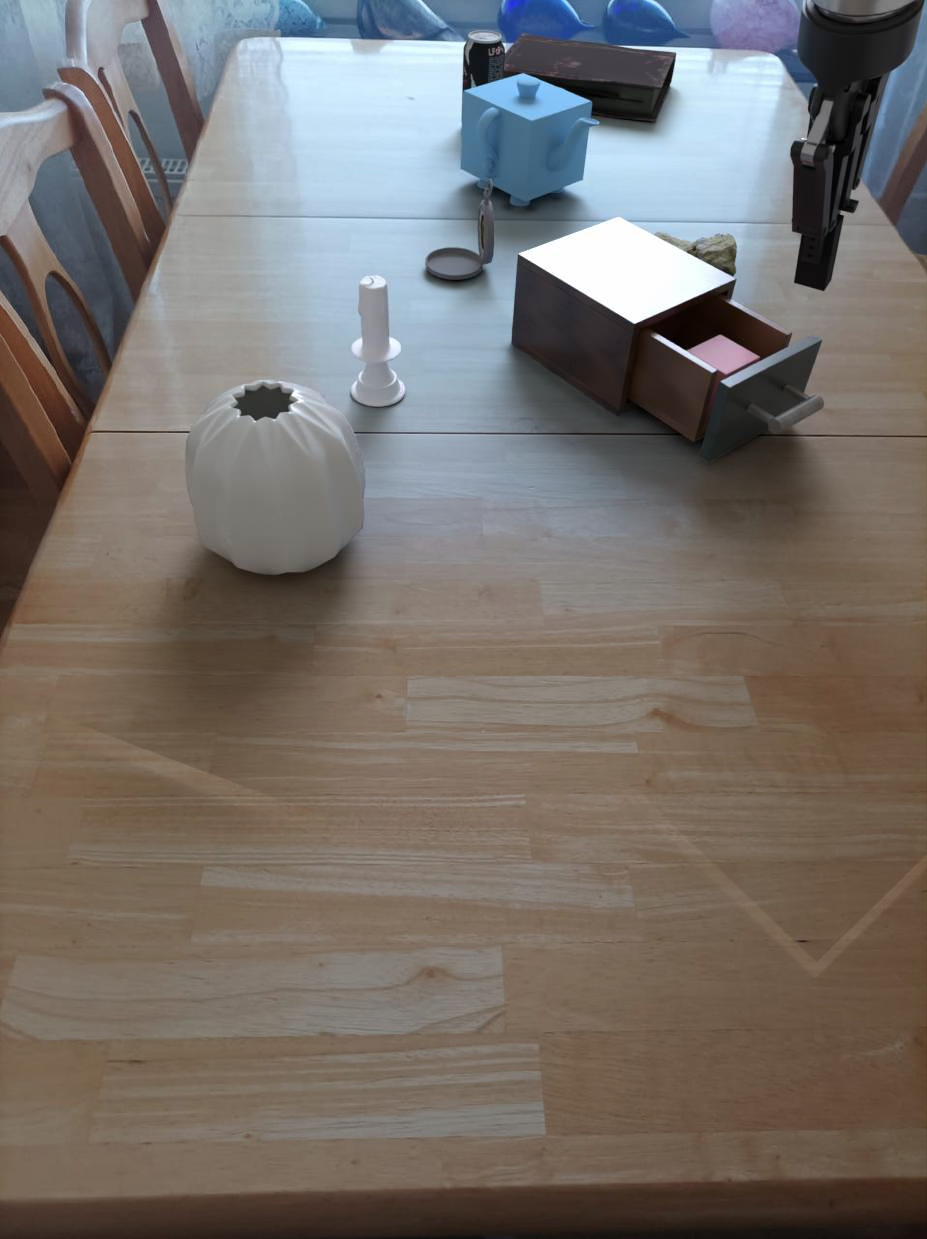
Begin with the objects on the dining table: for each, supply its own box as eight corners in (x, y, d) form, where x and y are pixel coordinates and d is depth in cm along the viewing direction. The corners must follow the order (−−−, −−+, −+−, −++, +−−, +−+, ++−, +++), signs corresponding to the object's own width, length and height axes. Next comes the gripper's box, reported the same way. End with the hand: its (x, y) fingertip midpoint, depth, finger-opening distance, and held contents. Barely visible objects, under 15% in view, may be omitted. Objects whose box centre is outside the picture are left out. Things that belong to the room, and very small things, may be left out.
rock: (646, 260, 113) (631, 285, 106) (658, 204, 109) (644, 227, 102) (734, 278, 111) (726, 306, 104) (750, 223, 107) (743, 247, 100)
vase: (252, 467, 83) (229, 332, 73) (396, 509, 80) (391, 373, 70) (164, 568, 74) (124, 430, 64) (321, 619, 71) (304, 482, 61)
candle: (368, 413, 89) (361, 296, 80) (341, 386, 92) (331, 270, 83) (416, 396, 91) (414, 281, 82) (388, 370, 94) (384, 255, 85)
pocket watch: (413, 266, 108) (412, 177, 101) (469, 245, 112) (472, 158, 104) (459, 295, 104) (461, 205, 97) (515, 272, 108) (521, 184, 100)
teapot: (445, 186, 123) (447, 78, 113) (530, 156, 130) (538, 52, 120) (542, 237, 114) (552, 125, 104) (627, 202, 121) (645, 94, 111)
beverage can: (462, 119, 138) (464, 27, 129) (500, 121, 138) (506, 29, 129) (460, 135, 134) (462, 40, 125) (500, 137, 134) (505, 42, 125)
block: (747, 401, 88) (760, 356, 85) (713, 419, 86) (726, 374, 83) (708, 378, 91) (720, 333, 87) (675, 395, 89) (685, 350, 85)
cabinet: (713, 368, 96) (736, 278, 88) (617, 416, 90) (634, 324, 82) (605, 303, 104) (618, 216, 96) (510, 343, 98) (517, 253, 90)
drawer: (830, 433, 87) (859, 359, 81) (742, 485, 82) (767, 410, 76) (683, 345, 97) (699, 273, 91) (595, 387, 91) (607, 313, 85)
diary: (520, 63, 155) (523, 29, 151) (671, 83, 151) (677, 48, 147) (491, 103, 143) (493, 66, 139) (654, 125, 138) (660, 88, 135)
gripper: (849, -69, 64) (803, 223, 84) (764, 39, 60) (737, 319, 80) (961, -55, 61) (886, 244, 81) (881, 59, 57) (822, 345, 77)
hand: (812, 281), depth 81 cm, fingers closed
